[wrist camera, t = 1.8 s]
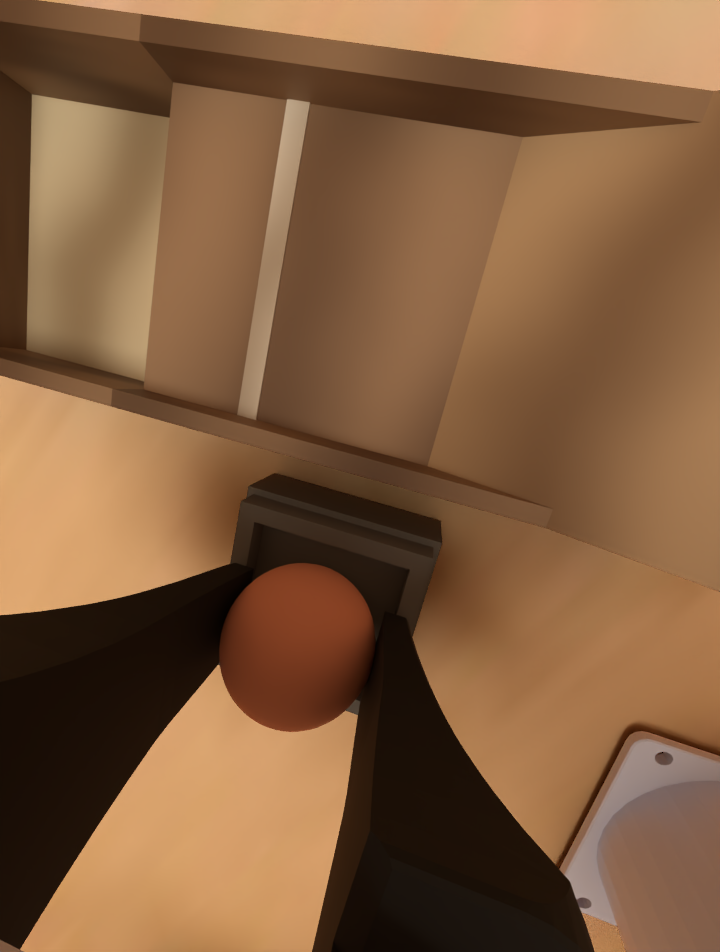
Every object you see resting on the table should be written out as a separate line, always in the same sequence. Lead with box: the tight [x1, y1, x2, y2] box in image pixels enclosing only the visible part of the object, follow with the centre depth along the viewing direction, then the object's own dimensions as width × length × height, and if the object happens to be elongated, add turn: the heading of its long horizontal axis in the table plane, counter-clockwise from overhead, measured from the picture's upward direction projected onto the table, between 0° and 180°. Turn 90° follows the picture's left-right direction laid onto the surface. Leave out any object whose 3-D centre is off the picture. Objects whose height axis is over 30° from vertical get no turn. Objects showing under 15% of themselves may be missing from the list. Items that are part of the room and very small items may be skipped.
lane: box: [0, 0, 720, 592], centre depth 10 cm, size 23×9×4 cm, turn 76°
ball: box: [219, 563, 376, 732], centre depth 10 cm, size 4×4×4 cm
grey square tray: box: [218, 473, 442, 715], centre depth 13 cm, size 6×6×3 cm
